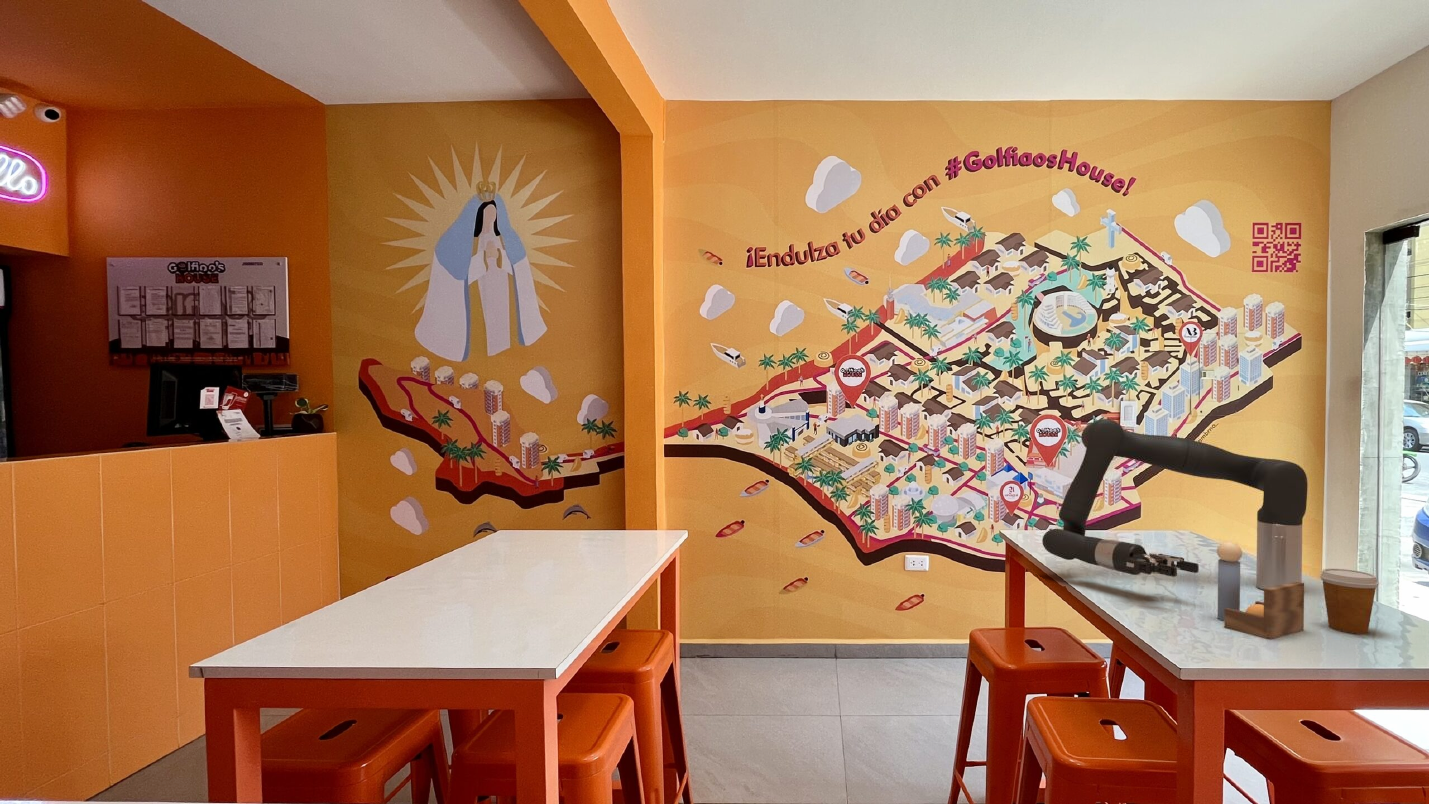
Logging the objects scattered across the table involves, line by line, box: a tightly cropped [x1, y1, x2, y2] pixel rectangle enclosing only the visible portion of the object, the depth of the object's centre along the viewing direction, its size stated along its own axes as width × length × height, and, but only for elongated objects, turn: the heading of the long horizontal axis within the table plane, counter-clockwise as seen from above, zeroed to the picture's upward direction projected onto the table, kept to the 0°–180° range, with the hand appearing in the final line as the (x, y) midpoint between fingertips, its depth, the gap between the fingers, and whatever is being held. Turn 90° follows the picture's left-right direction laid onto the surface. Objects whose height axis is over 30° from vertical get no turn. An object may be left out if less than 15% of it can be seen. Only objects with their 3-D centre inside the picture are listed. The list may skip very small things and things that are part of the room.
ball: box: [1245, 603, 1264, 616], centre depth 155 cm, size 5×5×5 cm
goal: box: [1223, 582, 1305, 640], centre depth 155 cm, size 13×9×10 cm, turn 117°
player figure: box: [1216, 541, 1243, 622], centre depth 161 cm, size 5×5×17 cm
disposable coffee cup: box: [1319, 567, 1380, 635], centre depth 155 cm, size 10×10×12 cm
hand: (1187, 570), depth 169 cm, fingers open, 8 cm apart
